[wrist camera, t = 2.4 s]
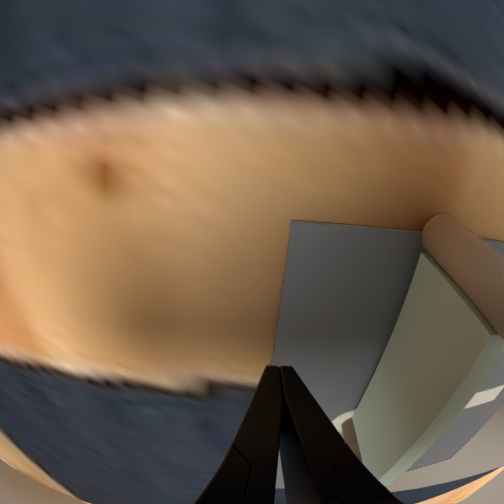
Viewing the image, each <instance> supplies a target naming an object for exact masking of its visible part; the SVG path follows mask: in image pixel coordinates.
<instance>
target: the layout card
mask: <svg viewBox="0 0 504 504" xmlns="http://www.w3.org/2000/svg"><path fill="white" fill-rule="evenodd" d="M421 237H422V231H413V230H403V229H393V228H383V227H372V226H361V225H349V224H337V223H325V222H312V221H298V220H291V226H290V234H289V242H288V250H287V258H286V266H285V273H284V281H283V288H282V295H281V303H280V310H279V317H278V323H277V330H276V337H275V344H274V350H273V357H272V363H271V365H276V366H279V367H280V366H292V367H293V368H294V369H295V371H296V372H297V374H298V375H299V376H300V378H301V379H302V381H303V382H304V384H305V385H306V386H307V388H308V389H309V391H310V392H311V394H312V395H313V397H314V398H315V399H316V401H317V402H318V404H319V405H320V406H321V408H322V409H323V411H324V412H325V414H326V415H327V416H328V418H329V419H330V421H331V422H332V423H333V425H334V426H335V428H336V429H337V430H338V432H339V433H343V432H342V427H341V425H342V423H343V422H344V421H345V420H347V419H349V418H351V417H352V416H353V414H354V412H355V410H356V409H357V407H358V405H359V403H360V401H361V399H362V397H363V395H364V393H365V391H366V389H367V387H368V385H369V383H370V381H371V379H372V377H373V375H374V373H375V371H376V369H377V367H378V364H379V362H380V360H381V358H382V356H383V353H384V351H385V349H386V347H387V344H388V342H389V340H390V337H391V335H392V332H393V330H394V328H395V325H396V323H397V320H398V318H399V315H400V312H401V310H402V307H403V304H404V302H405V299H406V296H407V293H408V291H409V288H410V285H411V282H412V279H413V276H414V273H415V270H416V267H417V264H418V261H419V257H420V254H421V253H428V252H427V251H426V250H425V249H424V247H423V245H422V240H421ZM480 239H481V240H483V241H484V242H485V243H486V244H488V245H489V246H490V247H491V248H493V249H494V250H495V251H496V252H497V253H499V254H500V255H501V256H502V257H503V258H504V241H498V240H490V239H482V238H480ZM503 402H504V352H503V354H502V356H501V357H500V359H499V360H498V362H497V363H496V365H495V367H494V368H493V370H492V371H491V373H490V374H489V375H488V377H487V378H486V380H485V381H484V383H483V384H482V385H481V387H480V388H479V390H478V391H477V392H476V394H475V395H474V396H473V398H472V399H471V400H470V402H469V403H468V404H467V405H466V407H465V408H464V409H463V410H462V412H461V413H460V414H459V415H458V417H457V418H456V419H455V420H454V421H453V422H452V424H451V425H450V426H449V427H448V428H447V429H446V431H445V432H444V433H443V434H442V435H441V436H440V437H439V438H438V439H437V440H436V442H435V443H434V444H433V445H432V446H431V447H430V448H429V449H428V450H427V451H426V452H425V453H424V454H423V455H422V456H421V457H420V458H419V459H418V460H417V461H416V462H415V463H414V464H413V465H412V466H411V467H410V468H409V469H407V470H406V471H410V470H414V469H417V468H421V467H425V466H428V465H431V464H435V463H438V462H441V461H444V460H448V459H450V458H452V457H453V456H454V455H455V454H456V453H457V452H458V451H459V450H460V449H461V448H462V447H463V446H464V445H465V444H466V443H467V442H468V441H469V440H470V439H471V438H472V437H473V436H474V435H475V434H476V433H477V432H478V431H479V430H480V429H481V428H482V426H483V425H484V424H485V423H486V422H487V421H488V420H489V419H490V418H491V416H492V415H493V414H494V413H495V412H496V411H497V409H498V408H499V407H500V406H501V405H502V403H503ZM406 471H405V472H406ZM276 488H285V487H284V480H283V473H282V466H281V459H280V452H279V457H278V468H277V478H276Z"/></svg>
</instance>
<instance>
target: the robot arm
mask: <svg viewBox="0 0 504 504" xmlns="http://www.w3.org/2000/svg"><path fill="white" fill-rule="evenodd" d="M279 452H280V459H281V466H282V473H283V480H284V487H285V494H286V501H287V504H404V503H403V502H401V501H400V500H399V499H397V498H396V497H395V496H394V495H393V494H392V493H391V492H390V491H389V490H388V489H387V488H386V487H385V486H384V485H383V484H382V483H381V482H380V481H379V480H378V479H377V478H376V477H375V476H374V475H373V474H372V473H371V472H370V471H369V470H368V469H367V468H366V467H365V466H364V464H363V463H362V462H361V461H360V460H359V459H358V457H357V456H356V455H355V453H354V452H353V451H352V450H351V448H350V447H349V445H348V444H347V443H345V440H344V439H343V437H342V436H341V434H340V433H339V432H338V430H337V429H336V428H335V426H334V425H333V423H332V422H331V421H330V419H329V418H328V416H327V415H326V414H325V412H324V411H323V409H322V408H321V406H320V405H319V404H318V402H317V401H316V399H315V398H314V397H313V395H312V394H311V392H310V391H309V389H308V388H307V386H306V385H305V384H304V382H303V381H302V379H301V378H300V376H299V375H298V374H297V372H296V371H295V369H294V368H293V367H292V366H280V367H279V366H276V365H267V366H266V367H265V369H264V372H263V374H262V376H261V379H260V381H259V383H258V386H257V388H256V390H255V393H254V395H253V397H252V399H251V402H250V404H249V406H248V409H247V411H246V413H245V415H244V417H243V420H242V422H241V424H240V426H239V429H238V431H237V433H236V435H235V437H234V439H233V441H232V444H231V446H230V448H229V450H228V452H227V454H226V456H225V458H224V460H223V462H222V463H221V465H220V467H219V469H218V470H217V472H216V473H215V475H214V476H213V478H212V480H211V481H210V482H209V484H208V485H207V487H206V488H205V489H204V491H203V492H202V493H201V495H200V496H199V497H198V499H197V500H196V501H195V503H194V504H274V498H275V488H276V478H277V468H278V457H279Z"/></svg>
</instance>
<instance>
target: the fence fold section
mask: <svg viewBox="0 0 504 504" xmlns="http://www.w3.org/2000/svg"><path fill="white" fill-rule="evenodd" d="M421 240H422V245H423V247H424V249H425V250H426V251H427V252H428V253H421V254H420V257H419V261H418V264H417V267H416V270H415V273H414V276H413V279H412V282H411V285H410V288H409V291H408V293H407V296H406V299H405V302H404V304H403V307H402V310H401V312H400V315H399V318H398V320H397V323H396V325H395V328H394V330H393V332H392V335H391V337H390V340H389V342H388V344H387V347H386V349H385V351H384V353H383V356H382V358H381V360H380V362H379V364H378V367H377V369H376V371H375V373H374V375H373V377H372V379H371V381H370V383H369V385H368V387H367V389H366V391H365V393H364V395H363V397H362V399H361V401H360V403H359V405H358V407H357V409H356V410H355V412H354V414H353V416H352V419H353V424H354V428H355V432H356V436H357V440H358V445H359V449H360V453H361V458H362V462H363V464H364V466H365V467H366V468H367V469H368V470H369V471H370V472H371V473H372V474H373V475H374V476H375V477H376V478H377V479H378V480H379V481H380V482H381V483H382V484H383V485H384V486H388V485H391V484H392V483H393V482H394V481H395V480H396V479H398V478H399V477H400V476H401V475H402V474H403V473H404V472H405V471H406V470H407V469H409V468H410V467H411V466H412V465H413V464H414V463H415V462H416V461H417V460H418V459H419V458H420V457H421V456H422V455H423V454H424V453H425V452H426V451H427V450H428V449H429V448H430V447H431V446H432V445H433V444H434V443H435V442H436V440H437V439H438V438H439V437H440V436H441V435H442V434H443V433H444V432H445V431H446V429H447V428H448V427H449V426H450V425H451V424H452V422H453V421H454V420H455V419H456V418H457V417H458V415H459V414H460V413H461V412H462V410H463V409H464V408H465V407H466V405H467V404H468V403H469V402H470V400H471V399H472V398H473V396H474V395H475V394H476V392H477V391H478V390H479V388H480V387H481V385H482V384H483V383H484V381H485V380H486V378H487V377H488V375H489V374H490V373H491V371H492V370H493V368H494V367H495V365H496V363H497V362H498V360H499V359H500V357H501V356H502V354H503V352H504V258H503V257H502V256H501V255H500V254H499V253H497V252H496V251H495V250H494V249H493V248H491V247H490V246H489V245H488V244H486V243H485V242H484V241H483V240H481V239H480V238H479V237H478V236H476V235H475V234H474V233H472V232H471V231H470V230H469V229H467V228H466V227H465V226H463V225H462V224H461V223H459V222H458V221H457V220H455V219H454V218H452V217H451V216H450V215H448V214H444V213H442V214H437V215H435V216H433V217H432V218H431V219H430V220H429V221H428V222H427V223H426V225H425V227H424V229H423V232H422V237H421Z"/></svg>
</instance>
